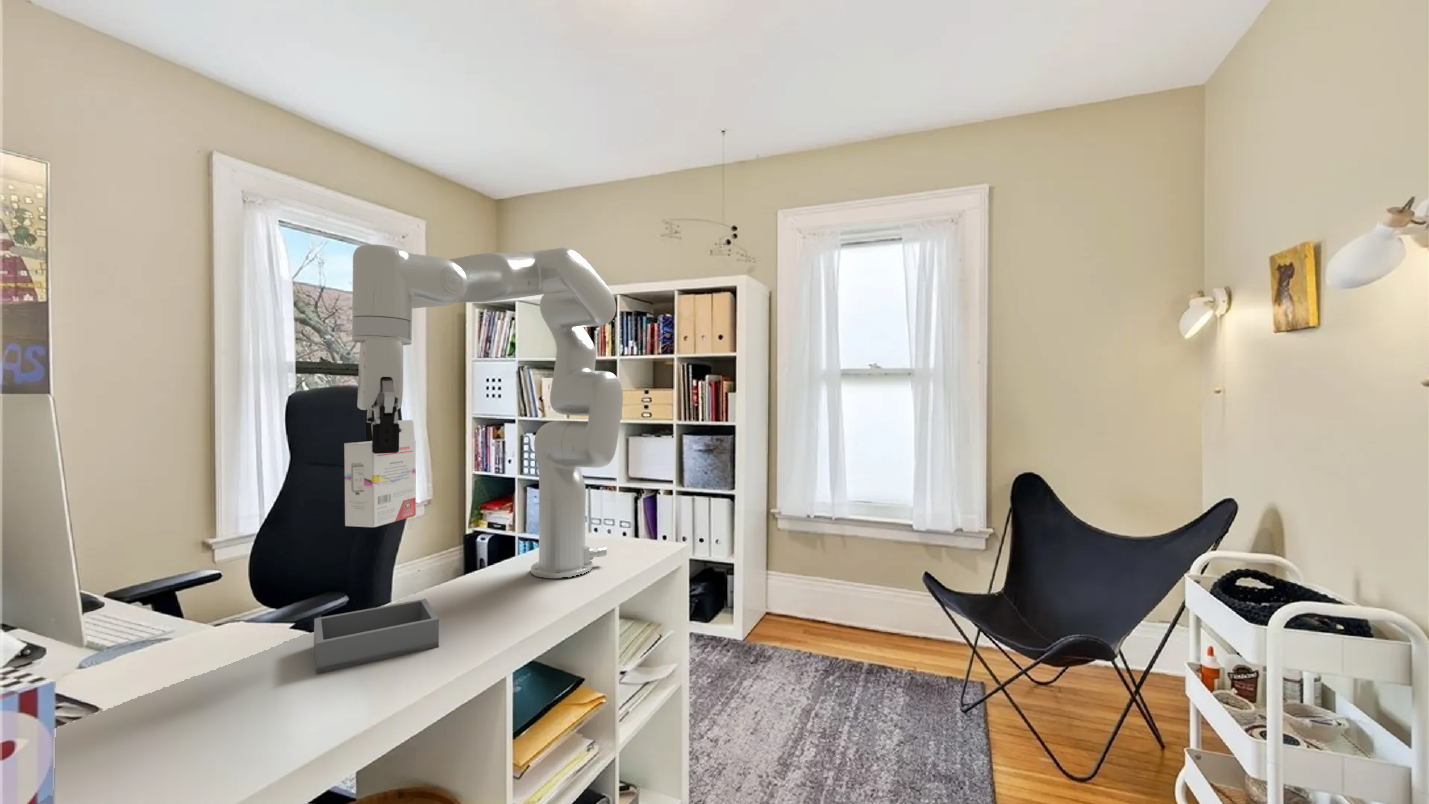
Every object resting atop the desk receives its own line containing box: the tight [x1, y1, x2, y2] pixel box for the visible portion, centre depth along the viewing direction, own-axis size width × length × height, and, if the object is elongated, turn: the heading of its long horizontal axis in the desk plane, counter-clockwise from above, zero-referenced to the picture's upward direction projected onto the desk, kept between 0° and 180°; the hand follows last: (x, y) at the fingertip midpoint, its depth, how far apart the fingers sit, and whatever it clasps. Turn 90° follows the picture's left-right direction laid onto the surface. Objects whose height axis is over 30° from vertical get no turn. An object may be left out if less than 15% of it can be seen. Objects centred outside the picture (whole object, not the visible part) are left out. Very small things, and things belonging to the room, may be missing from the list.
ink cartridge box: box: [343, 419, 417, 528], centre depth 83 cm, size 9×5×15 cm, turn 169°
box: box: [313, 598, 440, 675], centre depth 83 cm, size 15×11×4 cm
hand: (381, 450), depth 83 cm, fingers closed on ink cartridge box, 9 cm apart
